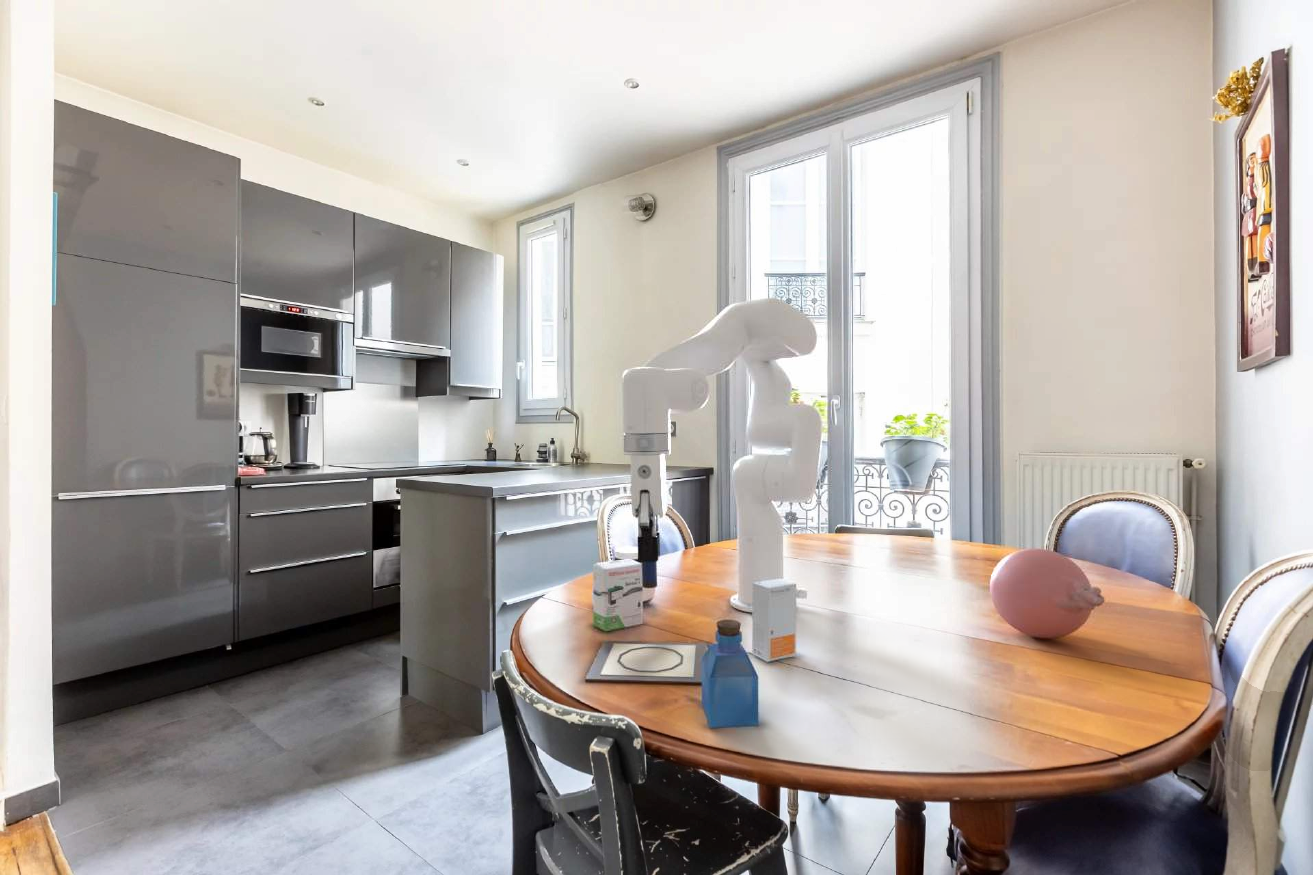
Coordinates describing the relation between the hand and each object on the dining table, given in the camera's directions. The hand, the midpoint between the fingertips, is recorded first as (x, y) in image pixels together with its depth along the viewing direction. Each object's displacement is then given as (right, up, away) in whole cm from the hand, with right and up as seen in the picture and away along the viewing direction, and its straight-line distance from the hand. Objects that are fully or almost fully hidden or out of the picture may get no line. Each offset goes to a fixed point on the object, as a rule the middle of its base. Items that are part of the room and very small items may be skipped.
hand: (649, 558), depth 97 cm
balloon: (+69, -16, +7) cm, 71 cm away
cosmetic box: (+21, -16, +2) cm, 26 cm away
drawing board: (0, -17, 0) cm, 17 cm away
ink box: (-6, -16, +18) cm, 25 cm away
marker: (0, -5, 0) cm, 5 cm away
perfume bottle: (+11, -17, -18) cm, 27 cm away
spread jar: (-6, -16, +30) cm, 35 cm away
